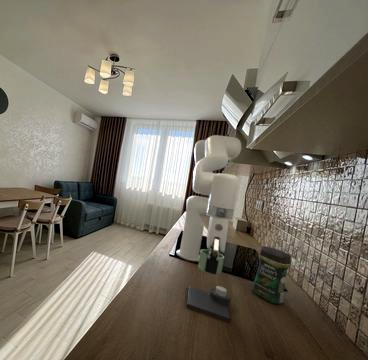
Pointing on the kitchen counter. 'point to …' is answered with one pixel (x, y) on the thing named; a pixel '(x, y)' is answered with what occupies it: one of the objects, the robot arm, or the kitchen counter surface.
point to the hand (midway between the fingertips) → (209, 267)
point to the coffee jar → (271, 274)
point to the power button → (221, 291)
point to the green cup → (203, 259)
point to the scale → (209, 303)
